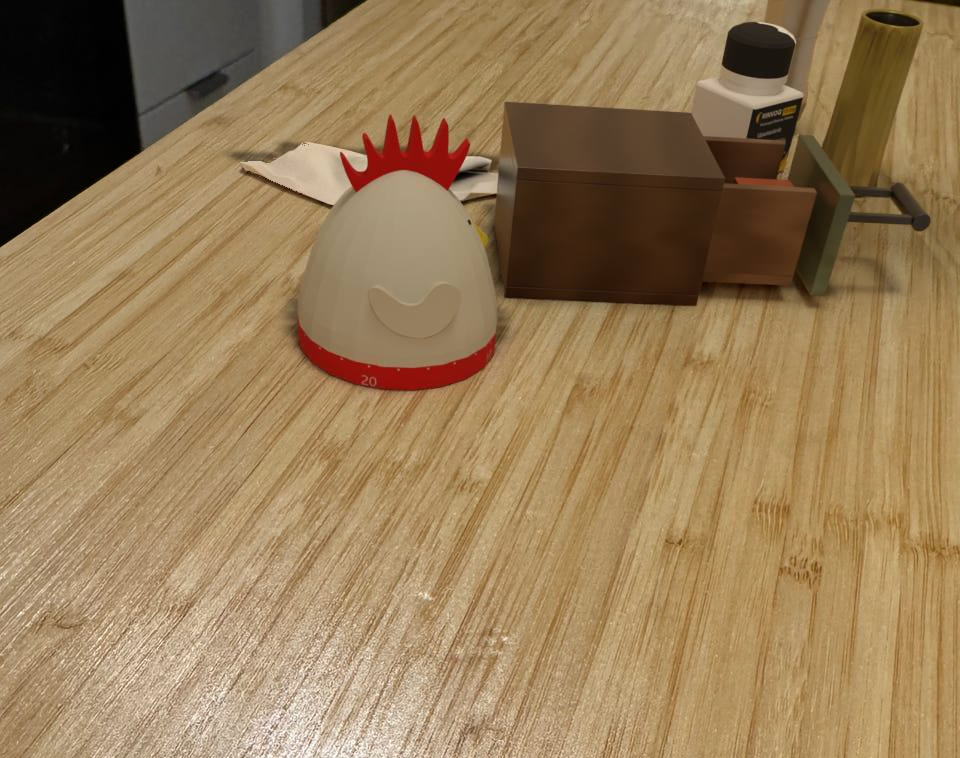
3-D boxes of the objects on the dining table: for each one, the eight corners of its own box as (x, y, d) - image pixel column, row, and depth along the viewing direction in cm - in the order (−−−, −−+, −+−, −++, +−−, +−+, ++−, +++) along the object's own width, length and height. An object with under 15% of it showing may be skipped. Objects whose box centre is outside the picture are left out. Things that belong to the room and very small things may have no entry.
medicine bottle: (736, 186, 105) (769, 45, 96) (680, 159, 108) (706, 21, 100) (785, 171, 108) (821, 34, 100) (729, 145, 112) (759, 11, 104)
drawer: (875, 235, 97) (906, 140, 91) (920, 300, 89) (957, 200, 83) (629, 222, 95) (646, 125, 89) (652, 288, 87) (672, 185, 81)
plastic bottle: (761, 109, 120) (815, -113, 106) (812, 131, 117) (874, -96, 103) (721, 120, 117) (770, -108, 103) (772, 142, 113) (830, -91, 100)
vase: (883, 182, 108) (936, 17, 98) (865, 203, 104) (918, 33, 94) (822, 165, 110) (868, 2, 100) (802, 185, 106) (847, 17, 96)
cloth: (213, 195, 95) (211, 168, 93) (264, 136, 105) (262, 111, 103) (521, 240, 93) (523, 213, 91) (543, 176, 103) (545, 151, 101)
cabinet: (667, 232, 96) (691, 112, 90) (696, 306, 87) (725, 178, 80) (494, 224, 95) (504, 101, 88) (504, 297, 86) (517, 167, 79)
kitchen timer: (514, 385, 77) (538, 161, 66) (308, 394, 74) (301, 162, 64) (473, 288, 87) (489, 79, 76) (290, 292, 84) (281, 76, 73)
